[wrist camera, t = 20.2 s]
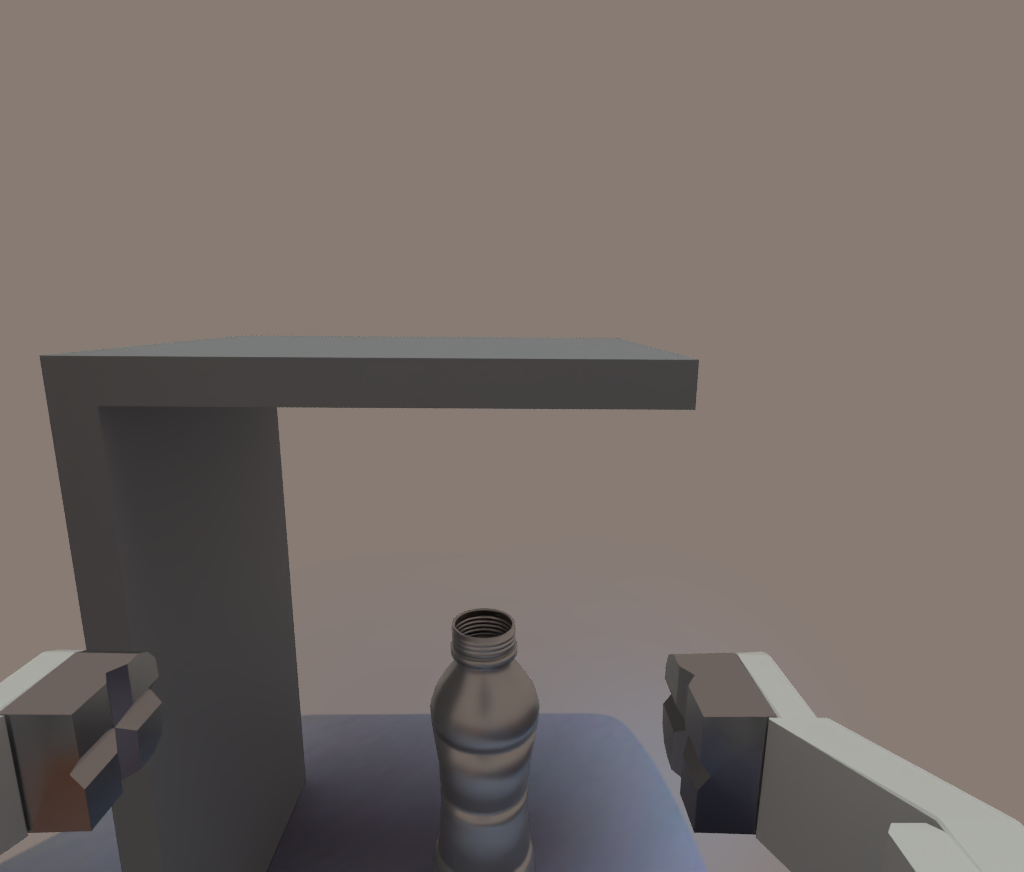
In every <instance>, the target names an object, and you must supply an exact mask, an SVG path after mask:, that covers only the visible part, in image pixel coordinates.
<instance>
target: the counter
mask: <svg viewBox="0 0 1024 872" xmlns="http://www.w3.org/2000/svg"><path fill="white" fill-rule="evenodd" d="M40 361H41V368H42V374H43V380H44V386H45V392H46V398H47V405H48V411H49V417H50V424H51V430H52V437H53V443H54V449H55V455H56V461H57V468H58V473H59V480H60V486H61V493H62V499H63V505H64V511H65V518H66V524H67V530H68V537H69V542H70V549H71V555H72V562H73V568H74V574H75V581H76V586H77V592H78V599H79V606H80V611H81V618H82V624H83V630H84V637H85V643H86V649H87V650H104V651H145V652H149V653H150V654H151V655H152V656H154V657H155V659H156V664H157V670H158V675H159V677H158V679H157V680H156V682H155V683H154V685H153V686H152V688H151V690H152V691H153V693H154V694H155V695H156V696H157V697H158V698H159V699H160V700H161V702H162V706H163V714H164V719H163V728H162V734H161V737H160V739H159V742H158V744H157V747H156V749H155V752H154V754H153V755H152V756H151V757H150V759H149V760H148V761H147V763H146V764H145V765H144V767H143V768H142V769H140V770H138V771H137V772H135V773H133V774H132V775H130V776H128V777H126V778H125V779H123V780H122V785H123V793H122V794H121V795H120V797H119V798H118V799H117V800H116V801H115V803H114V804H113V805H112V812H113V819H114V825H115V831H116V837H117V844H118V850H119V856H120V862H121V869H122V872H267V870H268V867H269V865H270V863H271V860H272V858H273V856H274V853H275V851H276V849H277V847H278V844H279V842H280V840H281V837H282V835H283V833H284V830H285V828H286V826H287V823H288V821H289V819H290V817H291V814H292V812H293V810H294V807H295V805H296V803H297V800H298V798H299V796H300V793H301V791H302V789H303V787H304V784H305V782H306V777H305V764H304V751H303V738H302V726H301V713H300V700H299V688H298V676H297V675H298V674H297V662H296V648H295V636H294V623H293V610H292V597H291V584H290V571H289V558H288V545H287V533H286V519H285V507H284V494H283V481H282V470H281V455H280V442H279V430H278V417H277V407H329V408H338V407H339V408H493V409H496V408H497V409H499V408H500V409H501V408H502V409H503V408H504V409H660V410H661V409H664V410H665V409H666V410H667V409H668V410H672V409H673V410H695V406H696V405H695V404H696V391H697V379H698V365H699V364H698V363H699V360H698V359H694V358H690V357H686V356H683V355H679V354H675V353H671V352H667V351H663V350H660V349H656V348H652V347H648V346H644V345H641V344H637V343H633V342H630V341H626V340H622V339H619V338H491V337H488V338H486V337H340V336H339V337H337V336H335V337H333V336H331V337H330V336H328V337H327V336H325V337H324V336H236V337H225V338H216V339H206V340H196V341H185V342H174V343H164V344H154V345H143V346H133V347H123V348H113V349H102V350H93V351H82V352H72V353H62V354H52V355H41V356H40Z"/></svg>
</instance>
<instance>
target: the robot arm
mask: <svg viewBox="0 0 1024 872" xmlns="http://www.w3.org/2000/svg"><path fill="white" fill-rule="evenodd" d="M158 677H159V675H158V670H157V664H156V659H155V657H154V656H152V655H151V654H150V653H149V652H145V651H104V650H85V651H84V650H53V651H46V652H43V653H41V654H40V655H39V656H37V657H36V658H34V659H33V660H31V661H30V662H29V663H27V664H26V665H25V666H23V667H22V668H20V669H19V670H18V671H16V672H15V673H13V674H12V675H11V676H9V677H8V678H7V679H5V680H4V681H2V682H1V683H0V855H1V854H2V853H4V852H5V851H7V850H8V849H10V848H11V847H13V846H14V845H16V844H17V843H19V842H20V841H21V840H23V839H24V838H26V837H27V836H28V833H40V832H75V831H92V830H93V829H94V827H95V826H96V825H97V824H98V822H99V821H100V820H101V819H102V817H103V816H104V815H105V814H106V813H107V811H108V810H109V809H110V808H111V806H112V805H113V804H114V803H115V801H116V800H117V799H118V798H119V797H120V795H121V794H122V793H123V785H122V780H123V779H125V778H126V777H128V776H130V775H132V774H133V773H135V772H137V771H138V770H140V769H142V768H143V767H144V765H145V764H146V763H147V761H148V760H149V759H150V757H151V756H152V755H153V754H154V752H155V749H156V747H157V744H158V742H159V739H160V737H161V734H162V728H163V719H164V714H163V706H162V702H161V700H160V699H159V698H158V697H157V696H156V695H155V694H154V693H153V691H152V690H151V688H152V686H153V685H154V683H155V682H156V680H157V679H158ZM665 680H666V682H667V684H668V687H669V689H670V692H671V695H670V696H669V698H668V699H667V700H666V701H665V703H664V704H663V733H664V744H665V748H666V753H667V757H668V760H669V763H670V766H671V769H672V770H673V771H674V772H675V773H677V774H678V775H679V776H680V777H681V788H680V794H681V797H682V800H683V803H684V806H685V808H686V811H687V814H688V817H689V819H690V822H691V825H692V828H693V831H694V833H727V834H755V835H756V838H757V839H758V840H759V841H760V842H761V843H762V844H763V845H764V846H765V847H766V848H767V849H768V850H769V851H770V852H771V853H772V854H773V855H774V856H775V857H776V858H777V859H778V860H779V861H780V862H781V863H783V864H784V865H785V866H786V867H787V868H788V869H789V870H790V871H791V872H1024V826H1023V825H1022V824H1021V823H1020V822H1018V821H1017V820H1015V819H1013V818H1012V817H1010V816H1008V815H1006V814H1004V813H1002V812H1000V811H999V810H997V809H995V808H993V807H991V806H989V805H988V804H986V803H984V802H982V801H980V800H978V799H977V798H975V797H973V796H971V795H969V794H967V793H965V792H964V791H962V790H960V789H958V788H956V787H954V786H952V785H951V784H949V783H947V782H945V781H943V780H941V779H940V778H938V777H936V776H934V775H932V774H930V773H928V772H927V771H925V770H923V769H921V768H919V767H917V766H915V765H913V764H912V763H910V762H908V761H906V760H904V759H903V758H901V757H899V756H897V755H895V754H893V753H891V752H889V751H888V750H886V749H884V748H882V747H880V746H879V745H877V744H875V743H873V742H871V741H869V740H867V739H866V738H863V737H862V736H860V735H858V734H856V733H854V732H853V731H851V730H849V729H847V728H845V727H843V726H842V725H840V724H838V723H836V722H834V721H832V720H830V719H829V718H817V717H816V715H815V714H814V713H813V712H812V710H811V709H810V708H809V706H808V705H807V704H806V703H805V701H804V700H803V698H802V697H801V696H800V695H799V693H798V692H797V691H796V690H795V688H794V687H793V685H792V684H791V683H790V682H789V680H788V679H787V678H786V676H785V675H784V674H783V672H782V671H781V670H780V668H779V667H778V666H777V665H776V663H775V662H774V661H773V659H772V658H771V657H770V655H768V654H766V653H764V652H743V653H713V654H712V653H710V654H670V655H669V656H668V659H667V663H666V673H665Z"/></svg>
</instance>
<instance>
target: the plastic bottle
mask: <svg viewBox="0 0 1024 872" xmlns="http://www.w3.org/2000/svg"><path fill="white" fill-rule="evenodd" d="M451 655H452V657H453V659H454V661H453V662H452V663H451V664H450V665H449V666H448V668H447V669H446V670H445V672H444V673H443V675H442V676H441V678H440V679H439V681H438V683H437V685H436V687H435V690H434V693H433V696H432V699H431V705H430V708H431V720H432V726H433V732H434V738H435V743H436V749H437V754H438V760H439V772H440V783H441V811H440V823H439V835H438V838H437V841H436V845H435V851H434V859H433V866H432V872H536V869H535V859H534V851H533V845H532V841H531V837H530V833H529V819H528V805H527V795H528V781H529V771H530V759H531V754H532V749H533V744H534V738H535V733H536V728H537V723H538V716H539V700H538V696H537V693H536V689H535V687H534V684H533V682H532V680H531V679H530V678H529V676H528V675H527V673H526V672H525V671H524V669H523V668H522V667H521V665H520V664H519V663H518V662H517V661H516V660H515V659H514V658H515V657H516V655H517V642H516V639H515V622H514V620H513V618H512V617H511V616H510V615H509V614H507V613H505V612H503V611H500V610H496V609H489V608H479V609H472V610H468V611H465V612H463V613H460V614H459V615H457V616H456V617H455V618H454V620H453V623H452V642H451Z"/></svg>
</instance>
